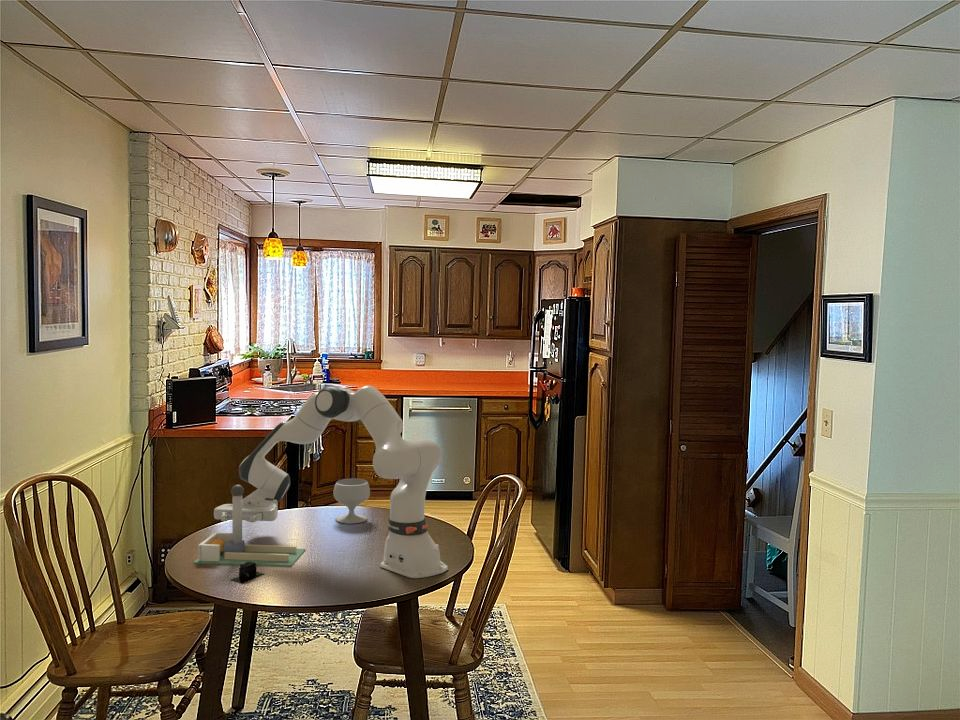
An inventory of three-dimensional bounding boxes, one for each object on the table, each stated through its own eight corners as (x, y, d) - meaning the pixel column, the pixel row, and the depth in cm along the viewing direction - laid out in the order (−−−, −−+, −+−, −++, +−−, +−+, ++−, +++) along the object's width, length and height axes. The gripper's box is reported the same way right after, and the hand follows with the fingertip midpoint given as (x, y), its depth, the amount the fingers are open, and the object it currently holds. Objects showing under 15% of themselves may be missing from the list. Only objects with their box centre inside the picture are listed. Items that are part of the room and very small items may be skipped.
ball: (208, 556, 230) (223, 558, 229) (205, 547, 226) (221, 550, 226) (214, 542, 233) (229, 545, 233) (211, 534, 230) (227, 537, 230)
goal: (298, 550, 236) (298, 535, 235) (286, 563, 223) (286, 547, 222) (214, 547, 236) (214, 532, 236) (198, 560, 223) (198, 545, 223)
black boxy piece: (254, 570, 219) (254, 555, 219) (272, 574, 215) (272, 560, 215) (222, 583, 208) (223, 567, 208) (240, 588, 205) (240, 572, 204)
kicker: (246, 551, 232) (246, 483, 231) (240, 556, 227) (240, 486, 226) (229, 550, 232) (229, 482, 231) (223, 555, 227) (223, 486, 226)
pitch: (305, 550, 237) (305, 548, 237) (291, 566, 221) (291, 565, 221) (213, 547, 238) (213, 545, 238) (193, 563, 222) (193, 562, 222)
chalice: (371, 524, 269) (372, 485, 268) (334, 526, 265) (335, 486, 264) (367, 514, 282) (367, 477, 282) (331, 516, 278) (332, 478, 278)
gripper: (222, 497, 243) (206, 508, 229) (281, 499, 243) (268, 510, 229) (222, 516, 244) (206, 527, 230) (281, 517, 243) (268, 529, 229)
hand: (237, 519), depth 229 cm, fingers open, 8 cm apart
